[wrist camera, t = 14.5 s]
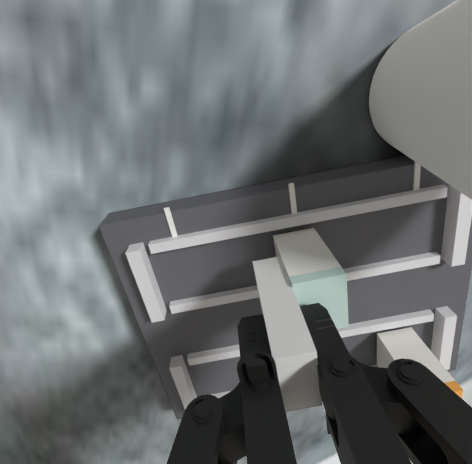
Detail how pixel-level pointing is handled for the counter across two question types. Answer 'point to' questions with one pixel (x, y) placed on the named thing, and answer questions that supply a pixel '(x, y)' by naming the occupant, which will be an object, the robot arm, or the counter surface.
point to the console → (262, 247)
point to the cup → (430, 95)
